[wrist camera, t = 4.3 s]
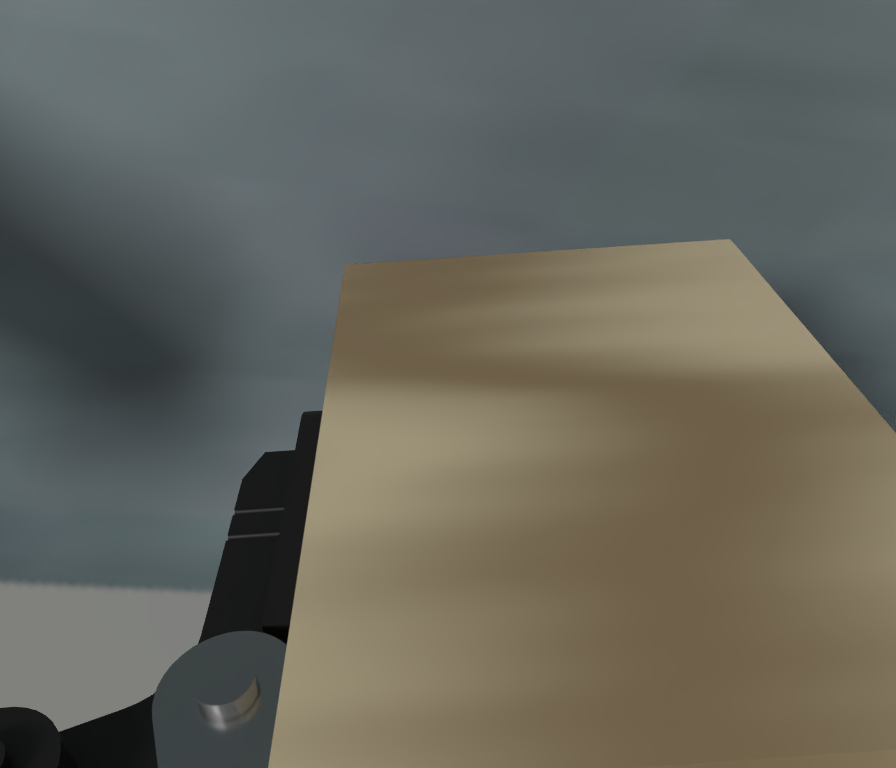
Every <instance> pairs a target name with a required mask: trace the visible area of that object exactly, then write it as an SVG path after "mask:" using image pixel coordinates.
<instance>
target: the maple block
mask: <svg viewBox="0 0 896 768" xmlns="http://www.w3.org/2000/svg"><path fill="white" fill-rule="evenodd" d="M268 768H896V433H895V431H894V430H893V429H892V428H891V427H890V426H889V424H888V423H887V422H886V421H885V420H884V419H883V417H882V416H881V415H880V414H879V413H878V412H877V410H876V409H875V408H874V407H873V406H872V405H871V403H870V402H869V401H868V400H867V399H866V398H865V396H864V395H863V394H862V393H861V392H860V391H859V389H858V388H857V387H856V386H855V385H854V384H853V382H852V381H851V380H850V379H849V378H848V376H847V375H846V374H845V373H844V372H843V371H842V369H841V368H840V367H839V366H838V365H837V364H836V362H835V361H834V360H833V359H832V358H831V357H830V355H829V354H828V353H827V352H826V351H825V350H824V348H823V347H822V346H821V345H820V344H819V343H818V341H817V340H816V339H815V338H814V337H813V336H812V334H811V333H810V332H809V331H808V330H807V329H806V327H805V326H804V325H803V324H802V323H801V322H800V320H799V319H798V318H797V317H796V316H795V314H794V313H793V312H792V311H791V310H790V309H789V307H788V306H787V305H786V304H785V303H784V302H783V300H782V299H781V298H780V297H779V296H778V295H777V293H776V292H775V291H774V290H773V289H772V288H771V286H770V285H769V284H768V283H767V282H766V281H765V279H764V278H763V277H762V276H761V275H760V274H759V272H758V271H757V270H756V269H755V268H754V267H753V265H752V264H751V263H750V262H749V261H748V259H747V258H746V257H745V256H744V255H743V254H742V252H741V251H740V250H739V249H738V248H737V247H736V245H735V244H734V243H733V242H732V241H731V240H730V239H725V240H710V241H695V242H680V243H665V244H650V245H635V246H620V247H605V248H589V249H574V250H559V251H544V252H529V253H514V254H499V255H484V256H469V257H454V258H438V259H423V260H408V261H393V262H378V263H363V264H348V265H345V268H344V275H343V281H342V288H341V294H340V301H339V307H338V314H337V320H336V327H335V334H334V340H333V347H332V353H331V360H330V366H329V373H328V379H327V386H326V392H325V399H324V406H323V412H322V419H321V425H320V432H319V438H318V445H317V451H316V458H315V464H314V471H313V477H312V484H311V491H310V497H309V504H308V510H307V517H306V523H305V530H304V536H303V543H302V549H301V556H300V562H299V569H298V576H297V582H296V589H295V595H294V602H293V608H292V615H291V621H290V628H289V634H288V641H287V647H286V654H285V661H284V667H283V674H282V680H281V687H280V693H279V700H278V706H277V713H276V719H275V726H274V732H273V739H272V746H271V752H270V759H269V765H268Z"/></svg>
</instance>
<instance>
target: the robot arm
mask: <svg viewBox="0 0 896 768" xmlns="http://www.w3.org/2000/svg"><path fill="white" fill-rule="evenodd" d="M322 412H323V411H309V412H303V414H302V417H301V422H300V427H299V432H298V438H297V443H296V448H295V450H291V451H277V452H265V453H264V454H263V456H262V457H261V458H260V459H259V460H258V461H257V463H256V464H255V465H254V466H253V467H252V469H251V470H250V471H249V472H248V473H247V474H246V476H245V477H244V478H243V479H242V483H241V487H240V490H239V494H238V498H237V502H236V505H235V515H233V517H232V521H231V524H230V528H229V532H228V541H226V543H225V547H224V551H223V555H222V558H221V562H220V566H219V570H218V573H217V577H216V581H215V585H214V589H213V592H212V596H211V600H210V604H209V607H208V611H207V615H206V619H205V623H204V626H203V630H202V634H201V637H200V640H199V643H198V645H196V646H194V647H192V648H191V649H190V650H189V651H187V652H186V653H184V654H183V655H182V656H181V657H180V658H179V659H178V660H177V661H175V662H174V663H173V664H172V666H171V667H170V668H169V669H168V671H167V672H166V673H165V674H164V676H163V678H162V679H161V681H160V683H159V685H158V687H157V690H156V692H155V693H154V694H153V695H151V696H150V697H148V698H146V699H144V700H142V701H141V702H139V703H137V704H134V705H132V706H130V707H127V708H125V709H122V710H119V711H117V712H114V713H111V714H108V715H105V716H103V717H100V718H97V719H94V720H91V721H89V722H86V723H83V724H80V725H77V726H74V727H72V728H69V729H66V730H63V731H60V732H58V730H57V728H56V727H55V725H54V724H53V722H52V721H51V720H50V719H49V718H48V717H47V716H46V715H44V714H42V713H40V712H38V711H36V710H32V709H29V708H22V707H8V708H0V768H268V765H269V759H270V752H271V746H272V739H273V732H274V726H275V719H276V713H277V706H278V700H279V693H280V687H281V680H282V674H283V667H284V661H285V654H286V647H287V641H288V634H289V628H290V621H291V615H292V608H293V602H294V595H295V589H296V582H297V576H298V569H299V562H300V556H301V549H302V543H303V536H304V530H305V523H306V517H307V510H308V504H309V497H310V491H311V484H312V477H313V471H314V464H315V458H316V451H317V445H318V438H319V432H320V425H321V419H322Z"/></svg>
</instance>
